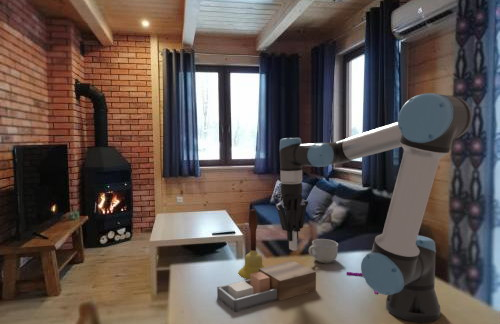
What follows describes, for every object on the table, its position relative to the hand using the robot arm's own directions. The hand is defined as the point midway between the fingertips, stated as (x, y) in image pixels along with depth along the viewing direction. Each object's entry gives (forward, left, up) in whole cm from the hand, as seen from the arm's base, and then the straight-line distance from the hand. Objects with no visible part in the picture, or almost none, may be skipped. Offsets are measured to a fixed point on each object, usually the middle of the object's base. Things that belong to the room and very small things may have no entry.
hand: (293, 249), depth 132 cm
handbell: (+19, +5, -14) cm, 24 cm away
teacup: (+15, -26, -14) cm, 33 cm away
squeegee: (-6, -27, -15) cm, 31 cm away
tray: (+1, +19, -14) cm, 23 cm away
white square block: (+1, +21, -9) cm, 23 cm away
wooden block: (0, +3, -14) cm, 14 cm away
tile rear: (+1, +15, -10) cm, 18 cm away
